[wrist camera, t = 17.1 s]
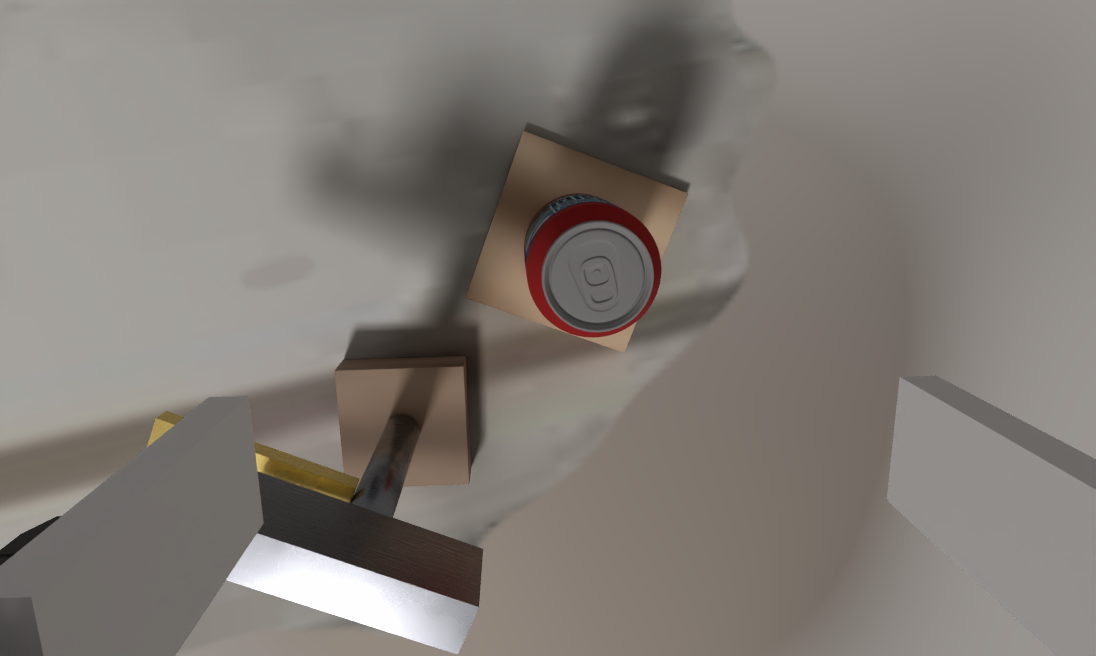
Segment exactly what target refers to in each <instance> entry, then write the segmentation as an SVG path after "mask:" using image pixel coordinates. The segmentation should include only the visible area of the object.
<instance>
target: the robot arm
mask: <svg viewBox="0 0 1096 656" xmlns="http://www.w3.org/2000/svg"><path fill="white" fill-rule="evenodd" d="M887 500H888V501H889V502H890V503H891V504H892V505H893V506H894V507H895V508H896V509H897V510H898V511H900V513H902V514H903V515H904V516H905V517H906V518H907V519H908V520H909V521H910V522H911V523H912V524H913V525H915V526H916V527H917V528H918V529H919V530H920V531H921V532H922V533H923V534H924V535H925V536H926V537H928V538H929V539H930V540H931V541H932V542H933V543H934V544H935V545H936V546H937V547H938V548H939V549H941V550H942V551H943V552H944V553H945V554H946V555H947V556H948V557H949V558H950V559H951V560H952V561H954V562H955V563H956V564H957V565H958V566H959V567H960V568H961V569H962V570H963V571H964V572H965V573H967V574H968V575H969V576H970V577H971V578H972V579H973V580H974V581H975V582H976V583H977V584H978V585H980V586H981V587H982V588H983V589H984V590H985V591H986V592H987V593H988V594H989V595H990V596H992V598H994V599H995V600H996V601H997V602H998V603H999V604H1000V605H1001V606H1002V607H1003V608H1004V609H1005V610H1007V611H1008V612H1009V613H1010V614H1011V615H1012V616H1013V617H1014V618H1015V619H1016V620H1017V621H1019V622H1020V623H1021V624H1022V625H1023V626H1024V627H1025V628H1026V629H1027V630H1028V631H1029V632H1030V633H1031V634H1033V635H1034V636H1035V637H1036V638H1037V639H1038V640H1039V641H1040V642H1041V643H1042V644H1043V645H1044V646H1046V647H1047V648H1048V649H1049V650H1050V651H1051V652H1052V653H1053V654H1054V655H1055V656H1096V459H1094V458H1092V457H1090V456H1088V455H1086V454H1085V453H1083V452H1081V451H1078V450H1077V449H1075V448H1073V447H1071V446H1069V445H1067V444H1065V443H1063V442H1062V441H1060V440H1058V439H1056V438H1054V437H1052V436H1050V435H1048V434H1046V433H1044V432H1042V431H1041V430H1039V429H1037V428H1035V427H1033V426H1031V425H1029V424H1027V423H1025V422H1023V421H1022V420H1020V419H1018V418H1016V417H1014V416H1012V415H1010V414H1008V413H1006V412H1004V411H1003V410H1001V409H999V408H997V407H995V406H993V405H991V404H989V403H987V402H985V401H983V400H981V399H980V398H978V397H976V396H974V395H972V394H970V393H968V392H966V391H964V390H962V389H961V388H959V387H957V386H955V385H953V384H951V383H949V382H947V381H945V380H943V379H941V378H940V377H938V376H915V377H900V380H899V390H898V400H897V411H896V419H895V428H894V438H893V447H892V458H891V467H890V476H889V486H888V495H887ZM263 524H264V522H263V514H262V505H261V497H260V488H259V480H258V472H257V463H256V455H255V446H254V438H253V429H252V421H251V412H250V404H249V396H238V397H209V398H208V399H206V400H205V401H204V402H203V403H201V404H200V405H199V406H198V407H196V408H195V409H194V410H193V411H191V412H190V413H189V414H188V415H186V416H185V417H184V418H183V419H182V420H180V421H179V422H178V423H177V424H175V425H174V426H173V427H172V428H170V429H169V430H168V431H167V432H165V433H164V434H163V435H162V436H160V437H159V438H158V439H157V440H156V441H154V442H153V443H152V444H151V445H149V446H148V447H147V448H146V449H144V450H143V451H142V452H141V453H139V454H138V455H137V456H136V457H134V458H133V459H132V460H131V461H129V462H128V463H127V464H126V465H125V466H123V467H122V468H121V469H120V470H118V471H117V472H116V473H115V474H113V475H112V476H111V477H110V478H108V479H107V480H106V481H105V482H103V483H102V484H101V485H100V486H99V487H97V488H96V489H95V490H94V491H92V492H91V493H90V494H89V495H87V496H86V497H85V498H84V499H82V500H81V501H80V502H79V503H77V504H76V505H75V506H74V507H73V508H71V509H70V510H69V511H68V512H66V513H65V514H64V515H63V516H57V517H55V518H53V519H51V520H49V521H47V522H45V523H43V524H41V525H38V526H36V527H34V528H32V529H30V530H28V531H26V532H24V533H22V534H20V535H19V536H18V537H17V538H15V539H14V540H13V541H11V542H10V543H9V544H8V545H6V546H5V547H4V548H2V549H1V550H0V656H175V655H176V653H177V652H178V650H179V649H180V647H181V646H182V644H183V643H184V642H185V640H186V639H187V637H188V636H189V634H190V633H191V631H192V630H193V628H194V627H195V625H196V624H197V622H198V621H199V619H200V618H201V616H202V615H203V613H204V612H205V610H206V609H207V607H208V606H209V604H210V603H211V601H212V600H213V598H214V597H215V595H216V594H217V592H218V591H219V589H220V588H221V586H222V585H223V583H224V582H225V580H226V579H227V577H228V576H229V574H230V573H231V571H232V570H233V568H234V567H235V565H236V564H237V562H238V561H239V559H240V558H241V556H242V555H243V553H244V552H245V550H246V549H247V547H248V546H249V544H250V543H251V541H252V540H253V538H254V537H255V535H256V534H257V532H258V531H259V529H260V528H261V527H262V525H263Z"/></svg>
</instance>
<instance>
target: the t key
mask: <svg viewBox="0 0 1096 656" xmlns="http://www.w3.org/2000/svg"><path fill="white" fill-rule="evenodd" d="M183 418H184V417H182V416H179V415H176V414H173V413H171V412H168V411H165V412H164V413H163V414H161V415H160V416H159V417H157V418H156V420H155V423H154V427H153V430H152V433H151V436H150V439H149V442H148V446H149V445H151V444H152V443H153V442H154V441H156V440H157V439H158V438H159V437H160V436H162V435H163V434H164V433H165V432H167V431H168V430H169V429H170V428H172V427H173V426H174V425H175V424H177V423H178V422H179V421H180V420H182V419H183ZM419 435H420V426H419V424H418V422H417V421H416V420H415V419H414V418H413V417H411V416H409V415H406V414H399V415H395V416H393V417H392V418H391V419H389V421H388V422H387V424H386V426H385V428H384V431H383V433H382V435H381V437H380V439H379V441H378V444H377V446H376V448H375V450H374V452H373V454H372V457H371V459H370V461H369V463H368V465H367V467H366V470H365V472H364V474H363V476H362V478H361V480H360V483H359V485H358V482H359V478H356V477H353V476H351V475H348V474H345V473H342V472H339V471H336V470H333V469H331V468H328V467H325V466H322V465H319V464H316V463H313V462H311V461H308V460H305V459H302V458H299V457H296V456H293V455H291V454H288V453H285V452H282V451H279V450H276V449H273V448H271V447H268V446H265V445H262V444H259V443H256V442H254V446H255V455H256V463H257V472H258V480H259V488H260V497H261V505H262V514H263V522H264V524H263V525H262V527H261V528H260V529H259V531H258V532H257V534H256V535H255V537H254V538H253V540H252V541H251V543H250V544H249V546H248V547H247V549H246V550H245V552H244V553H243V555H242V556H241V558H240V559H239V561H238V562H237V564H236V565H235V567H234V568H233V570H232V571H231V573H230V574H229V576H228V577H227V579H226V580H228V581H231V582H234V583H237V584H240V585H243V586H246V587H250V588H253V589H256V590H259V591H262V592H265V593H268V594H271V595H274V596H277V597H281V598H284V599H287V600H290V601H293V602H296V603H299V604H302V605H305V606H309V607H312V608H315V609H318V610H321V611H324V612H327V613H330V614H333V615H336V616H340V617H343V618H346V619H349V620H352V621H355V622H358V623H361V624H364V625H367V626H371V627H374V628H377V629H380V630H383V631H386V632H389V633H392V634H395V635H399V636H402V637H405V638H408V639H411V640H414V641H417V642H420V643H423V644H427V645H430V646H433V647H436V648H439V649H442V650H445V651H449V652H451V653H454V654H458V653H459V651H460V649H461V646H462V644H463V642H464V639H465V637H466V635H467V633H468V631H469V628H470V626H471V624H472V621H473V619H474V617H475V615H476V612H477V610H478V608H479V598H480V584H481V570H482V556H483V549H482V548H479V547H476V546H473V545H470V544H467V543H464V542H462V541H459V540H456V539H453V538H450V537H447V536H444V535H441V534H438V533H435V532H433V531H430V530H427V529H424V528H421V527H418V526H415V525H412V524H409V523H406V522H404V521H401V520H398V519H395V518H393V515H394V512H395V509H396V506H397V503H398V500H399V497H400V494H401V491H402V488H403V485H404V482H405V478H406V475H407V472H408V469H409V466H410V463H411V460H412V457H413V454H414V451H415V448H416V445H417V442H418V439H419ZM148 446H147V447H148ZM357 485H358V487H357ZM356 487H357V489H356ZM355 490H356V491H355ZM354 492H355V493H354ZM353 495H354V496H353ZM352 497H353V498H352Z"/></svg>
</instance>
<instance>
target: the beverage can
mask: <svg viewBox="0 0 1096 656" xmlns="http://www.w3.org/2000/svg"><path fill="white" fill-rule="evenodd" d="M524 259H525V269H526V276H527V282H528V287H529V291H530V294H531V296H532V299H533V301H534V303H535V305H536V306H537V308H538V310H539V311H540V312H541V313H542V315H543V316H544V317H545V318H546V319H547V320H548V321H549V322H550V323H552V324H553V325H554V326H556V327H557V328H559V329H561V330H563V331H565V332H567V333H570V334H573V335H576V336H581V337H592V338H594V337H604V336H609V335H612V334H616V333H618V332H621V331H623V330H625V329H626V328H628V327H630V326H631V325H633V324H634V323H635V322H637V321H638V320H639V319H640V318H641V317H642V316H643V315H644V314H645V312H646V311H647V310H648V309H649V307H650V306H651V304H652V302H653V301H654V299H655V296H656V294H657V291H658V288H659V285H660V279H661V259H660V254H659V250H658V247H657V244H656V242H655V240H654V238H653V236H652V235H651V233H650V232H649V230H648V229H647V228H646V227H645V225H644V224H643V223H642V222H641V221H640V220H638V219H637V218H636V217H635V216H633V215H632V214H630V213H629V212H627V211H625V210H624V209H622V208H620V207H618V206H616V205H614V204H613V203H611V202H608V201H606V200H604V199H602V198H599V197H597V196H593V195H589V194H583V193H574V194H567V195H563V196H560V197H558V198H555V199H553V200H552V201H550V202H548V203H547V204H546V205H544V206H543V207H542V208H541V209H540V210H539V211H538V212H537V213H536V215H535V216H534V217H533V219H532V220H531V222H530V224H529V226H528V229H527V232H526V236H525V242H524Z"/></svg>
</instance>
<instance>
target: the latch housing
mask: <svg viewBox="0 0 1096 656" xmlns="http://www.w3.org/2000/svg"><path fill="white" fill-rule="evenodd" d="M335 381H336V391H337V402H338V413H339V424H340V435H341V446H342V456H343V467H344V473H345V474H348V475H351V476H353V477H356V478H359V482H358V485H359V483H360V480H361V478H362V476H363V474H364V472H365V470H366V467H367V465H368V463H369V461H370V459H371V457H372V454H373V452H374V450H375V448H376V446H377V444H378V441H379V439H380V437H381V435H382V433H383V431H384V428H385V426H386V424H387V422H388V421H389V419H391V418H392V417H393V416H395V415H399V414H406V415H409V416H411V417H413V418H414V419H415V420H416V421H417V422H418V424H419V426H420V435H419V439H418V442H417V445H416V448H415V451H414V454H413V457H412V460H411V463H410V466H409V469H408V472H407V475H406V478H405V482H404V485H403V486H429V485H454V484H469V481H470V473H471V453H470V432H469V411H468V390H467V369H466V356H443V357H411V358H380V359H348V360H343V361H342V362H341V363H340V365H339V366H338V367H337V368H336V370H335ZM358 485H357V487H358ZM357 487H356V488H357Z"/></svg>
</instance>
